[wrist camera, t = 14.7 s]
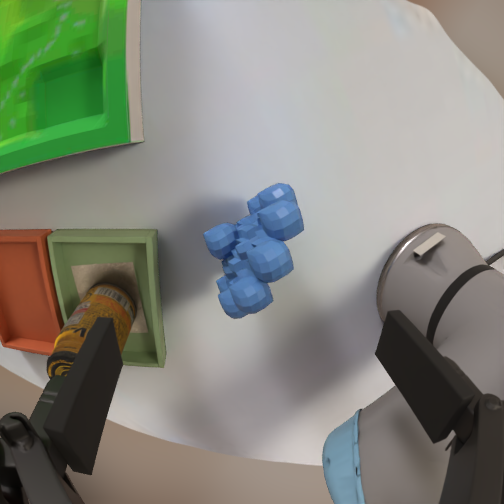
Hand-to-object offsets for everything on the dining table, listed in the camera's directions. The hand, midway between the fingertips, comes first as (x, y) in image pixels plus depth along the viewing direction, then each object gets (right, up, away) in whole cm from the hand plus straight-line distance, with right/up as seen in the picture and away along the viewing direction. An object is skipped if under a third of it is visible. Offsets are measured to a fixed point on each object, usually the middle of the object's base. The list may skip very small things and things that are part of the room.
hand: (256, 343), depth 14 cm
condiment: (-15, -1, +17) cm, 23 cm away
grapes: (-2, +7, +16) cm, 18 cm away
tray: (-23, +25, +7) cm, 35 cm away
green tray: (-15, -1, +17) cm, 23 cm away
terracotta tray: (-27, 0, +16) cm, 31 cm away
